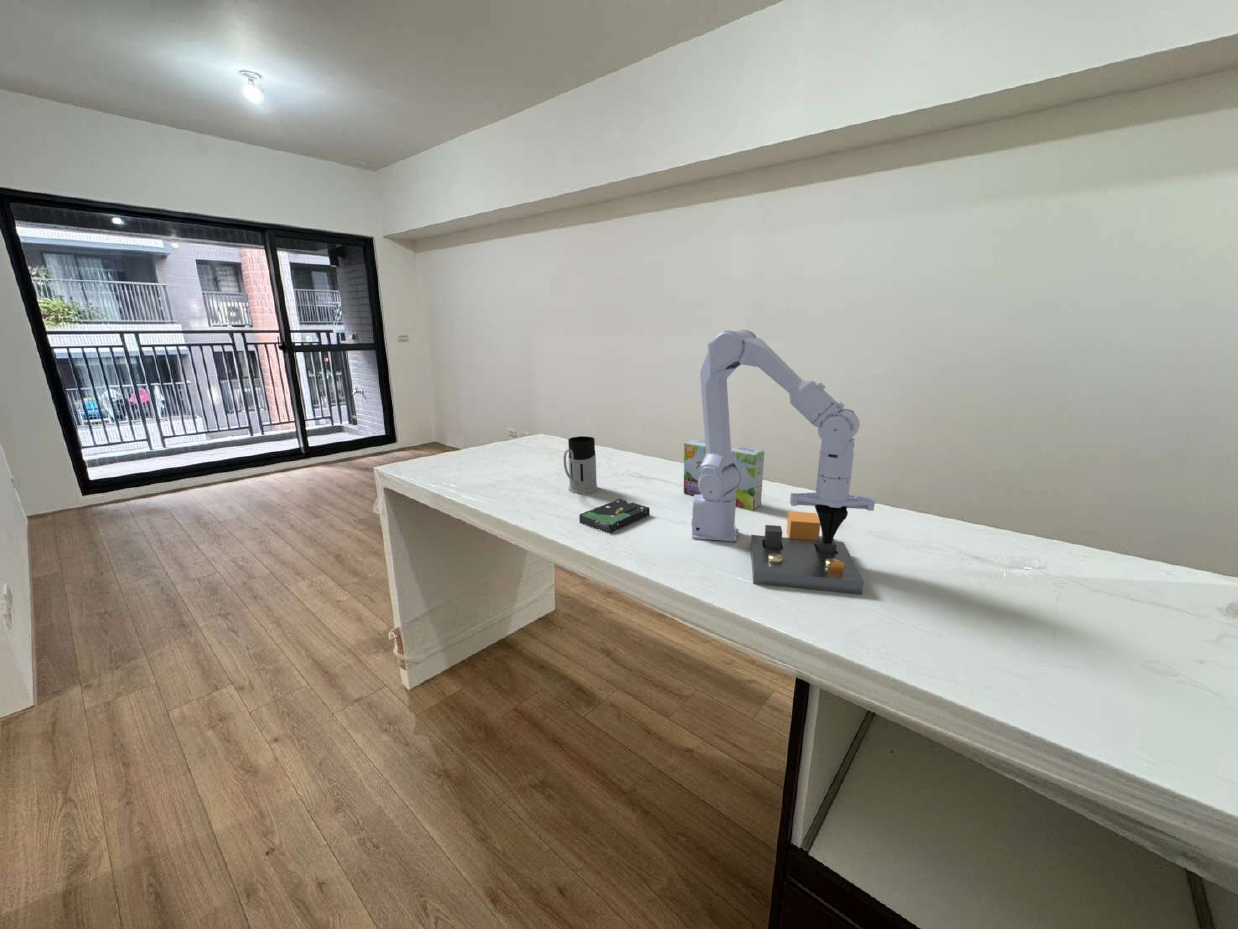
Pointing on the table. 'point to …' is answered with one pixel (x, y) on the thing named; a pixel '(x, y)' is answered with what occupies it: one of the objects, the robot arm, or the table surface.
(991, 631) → the table surface
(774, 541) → the block
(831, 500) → the robot arm
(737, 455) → the snack box
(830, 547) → the dark grey block
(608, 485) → the table surface
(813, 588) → the grey flat slab
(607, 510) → the disk drive
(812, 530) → the cap
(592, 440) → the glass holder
